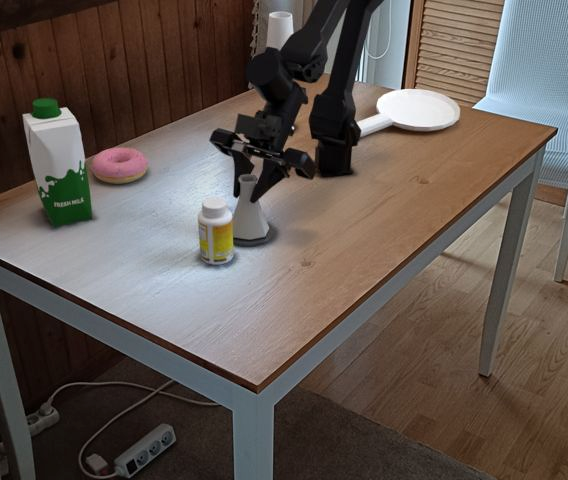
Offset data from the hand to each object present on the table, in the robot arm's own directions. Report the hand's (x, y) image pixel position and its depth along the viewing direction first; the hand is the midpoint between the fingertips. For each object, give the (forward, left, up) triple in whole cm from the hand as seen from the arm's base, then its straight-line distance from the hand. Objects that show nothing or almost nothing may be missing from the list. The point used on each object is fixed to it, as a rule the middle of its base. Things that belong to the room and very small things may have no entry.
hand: (243, 199), depth 125 cm
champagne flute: (-19, -45, -7) cm, 49 cm away
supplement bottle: (+6, +5, -7) cm, 11 cm away
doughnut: (+18, -30, -7) cm, 35 cm away
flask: (-1, -1, -7) cm, 7 cm away
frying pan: (-44, -39, -7) cm, 59 cm away
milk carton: (+29, -16, -7) cm, 34 cm away
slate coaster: (-1, -1, -7) cm, 7 cm away
